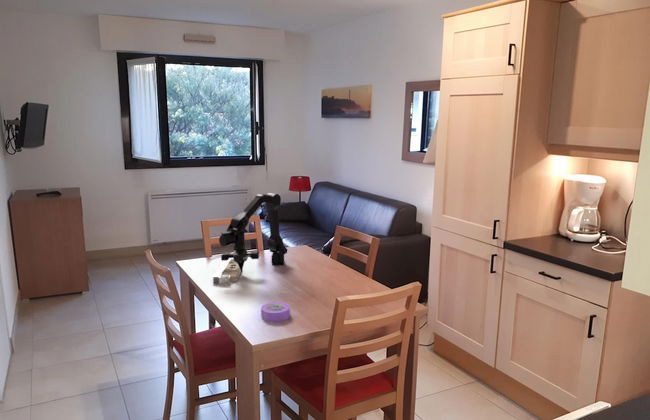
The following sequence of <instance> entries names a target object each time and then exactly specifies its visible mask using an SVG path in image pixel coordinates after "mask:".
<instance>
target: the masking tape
mask: <svg viewBox="0 0 650 420" xmlns="http://www.w3.org/2000/svg"><path fill="white" fill-rule="evenodd" d="M260 315H261V319H262V320H263V321H264V320H265V321H268V322H275V323H276V322H283V321H286V320H287V319H289V318H290V316H291V307H290V305H289V304H288V303H287V302H279V301H278V302H277V301H276V302H275V301H273V302H268V303H265V304H263V305H261V308H260Z"/></svg>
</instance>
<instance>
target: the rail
mask: <svg viewBox="0 0 650 420" xmlns="http://www.w3.org/2000/svg"><path fill="white" fill-rule="evenodd" d="M228 264H237V262H235V261H234V259H233V258H229V259H228V260H224V261H223V262H221V264H220V265H219V268H218V269H217V270H216V271H215V273H214V275H213V276H212V281H213V284H217V285H220V286H222V285H223V286H224V285H225V286H230V284H231V283H232V282H231V275H222V274H223V272H224V269H225V268H226V266H227V265H228Z"/></svg>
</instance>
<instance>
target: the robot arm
mask: <svg viewBox="0 0 650 420" xmlns="http://www.w3.org/2000/svg"><path fill="white" fill-rule="evenodd" d="M281 200H282V197H281V195H280V194H278V193H274V192H273V193H272V192H267V193H266V194H264V193H263V194H262V193H261V194H260V193H258V194H256V195H255V197H254V198H253V200H251V202H249V204H248V205H247V206H246V208H244V209H243V211H242V212H240V213H239V214H236V215H235V216H234V217H232V218H231V219H230V223H229V225H228V228H227V229H226V232H221V235H220V236H219V238H218V242H219V244H220V246H221V247H223V248H224V247H228V246H232V245H233V253H231V252H230V251H228V252H227V251H226V252H222V254H221V256H220V258H221V260H220V261H224V260H230V259H234V261H235V262H237V264H238V265H239V267H240V270H241V273H243V271H244V270H243V268H244V265H245V262H246V261H247V260H248V258H250V259H251V260H259V258H260V251H259V250H252V251H251V252H250V253H249V252H248V250H247V248H246V235H245V234H246V233H248V232H249V230H247V229H246V228H247V226H248V224H249V221H250V219H251V218H252V216H253V215H254V214H255V213H256V211H257V210H258V209H259V208H260V207H261V206H262V204H263V203H265V206H266V208H267V209H268V217H269V229H270V230H269V231H270V233H269V234H270V236H269V238H267V239H266V242H267V243H266V246H267V248H268V249H269V252H270V253H272V254H271V264H272V266H273V265H274V266H279V265H280V266H284V265H285V263H286V261H285V255H286V254H287V253H288V248H287V247H286V246H285V245H284V240H283V239H282V238H283V237H281V235H280V220H279V209H280V206H281Z"/></svg>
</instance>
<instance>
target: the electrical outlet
mask: <svg viewBox="0 0 650 420" xmlns="http://www.w3.org/2000/svg"><path fill="white" fill-rule="evenodd" d="M241 273H242V272H241V270H240V267H239V265H238V264H228V265H227V266H226V268H225V269H224V272H223V274H222V275H231V283H233V282H234V283H235V282H237V281H238V279H239V277H240V274H241Z"/></svg>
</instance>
